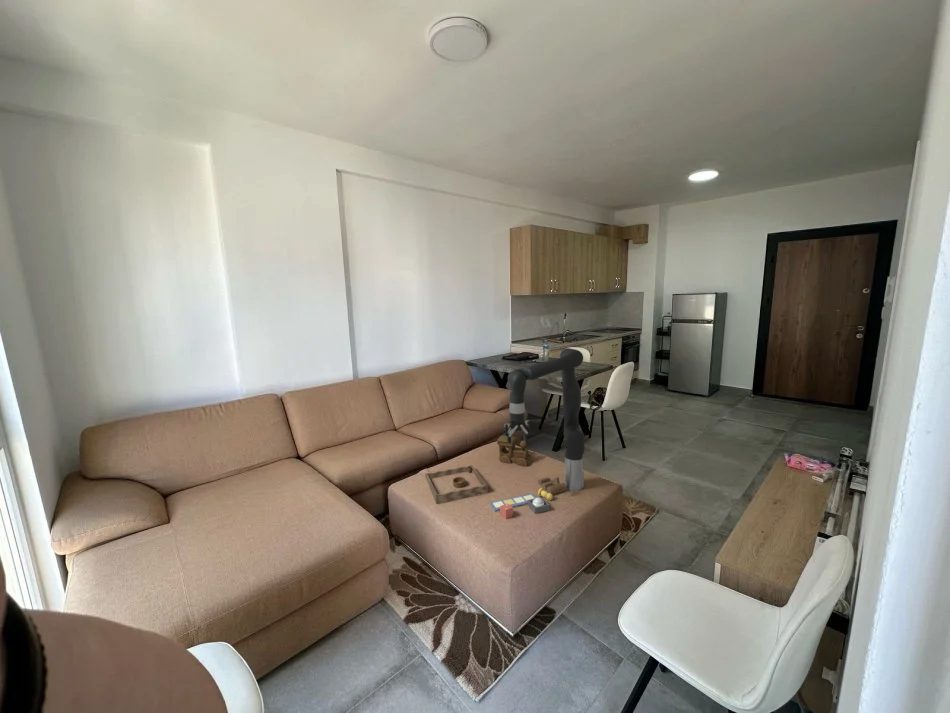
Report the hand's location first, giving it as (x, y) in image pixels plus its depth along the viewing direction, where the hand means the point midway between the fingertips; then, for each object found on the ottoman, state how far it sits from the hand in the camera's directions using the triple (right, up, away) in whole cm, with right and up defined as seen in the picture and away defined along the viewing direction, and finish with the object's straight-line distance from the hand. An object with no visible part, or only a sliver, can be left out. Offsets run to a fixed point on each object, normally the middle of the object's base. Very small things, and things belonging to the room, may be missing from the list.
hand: (517, 441), depth 191 cm
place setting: (-27, -29, +20) cm, 44 cm away
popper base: (+10, -31, -5) cm, 33 cm away
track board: (-2, -31, 0) cm, 31 cm away
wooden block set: (+15, -25, +8) cm, 31 cm away
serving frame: (-32, -29, +16) cm, 46 cm away
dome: (+10, -30, -6) cm, 32 cm away
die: (-6, -32, -11) cm, 35 cm away
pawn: (+12, -27, +5) cm, 30 cm away
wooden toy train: (+4, -24, +43) cm, 49 cm away
